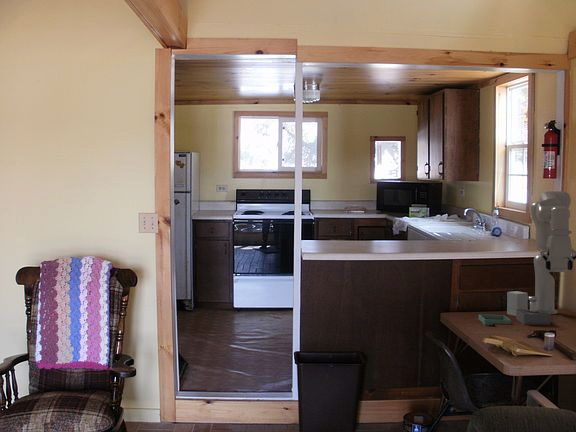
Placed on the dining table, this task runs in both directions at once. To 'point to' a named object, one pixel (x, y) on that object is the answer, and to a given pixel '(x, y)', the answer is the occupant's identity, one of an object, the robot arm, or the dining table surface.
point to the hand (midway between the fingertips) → (559, 269)
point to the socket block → (533, 317)
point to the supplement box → (516, 302)
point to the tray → (488, 320)
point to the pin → (533, 304)
